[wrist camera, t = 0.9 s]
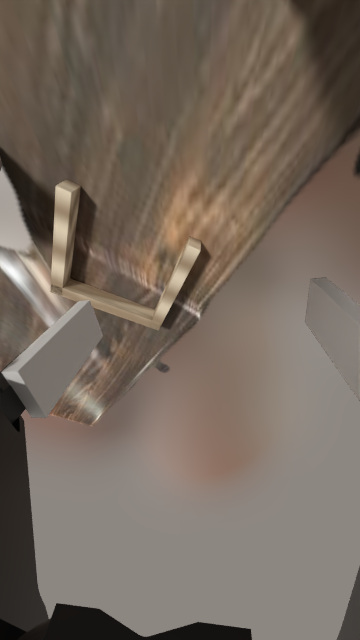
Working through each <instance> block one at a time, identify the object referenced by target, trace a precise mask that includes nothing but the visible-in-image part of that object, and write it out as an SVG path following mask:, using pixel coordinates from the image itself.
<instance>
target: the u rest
mask: <svg viewBox="0 0 360 640" xmlns="http://www.w3.org/2000/svg"><path fill="white" fill-rule="evenodd" d="M80 189H81V186H79V185H77V184H75V183H73V182H70V181H68V180H65V181H63V182H61V183H60V184H58V185H56V191H55V212H54V233H53V254H52V275H51V292H52V293H55V294H57V295H60V296H63V297H66V298H69V299H72V300H74V301H77V302H78V301H85V300H90V302H91V305H92V307H94V308H97V309H100V310H103V311H105V312H108V313H111V314H114V315H117V316H119V317H122V318H125V319H128V320H131V321H133V322H136V323H139V324H142V325H145V326H148V327H150V328H153V329H156V330H159V328H160V326H161V324H162V323H163V321H164V319H165V317H166V315H167V313H168V311H169V309H170V307H171V306H172V304H173V302H174V300H175V298H176V296H177V294H178V292H179V290H180V289H181V287H182V285H183V283H184V281H185V279H186V277H187V275H188V273H189V272H190V270H191V268H192V266H193V264H194V262H195V260H196V258H197V256H198V254H199V253H200V251H201V241H200V240H197V239H195V238H193V237H191V236H189V238H188V240H187V243H186V245H185V247H184V249H183V251H182V253H181V255H180V257H179V260H178V262H177V264H176V266H175V268H174V270H173V272H172V274H171V277H170V279H169V281H168V283H167V285H166V287H165V289H164V291H163V294H162V296H161V298H160V300H159V302H158V304H157V306H156V308H155V310H154V309H151V308H149V307H146V306H143V305H141V304H138V303H135V302H133V301H130V300H127V299H125V298H122V297H119V296H117V295H114V294H111V293H108V292H106V291H103V290H100V289H98V288H95V287H92V286H90V285H87V284H84V283H82V282H79V281H76V280H74V279H71V278H70V276H71V267H72V258H73V250H74V241H75V232H76V224H77V215H78V206H79V198H80Z"/></svg>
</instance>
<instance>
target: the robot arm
mask: <svg viewBox="0 0 360 640" xmlns="http://www.w3.org/2000/svg"><path fill="white" fill-rule="evenodd" d="M305 323H306V324H307V326H308V327H309V329H310V330H311V331H312V333H313V334H314V336H315V337H316V339H317V340H318V342H319V343H320V344H321V346H322V347H323V348H324V350H325V352H326V353H327V354H328V356H329V357H330V359H331V360H332V362H333V363H334V365H335V366H336V367H337V369H338V370H339V372H340V373H341V375H342V376H343V378H344V379H345V381H346V382H347V383H348V385H349V386H350V388H351V389H352V391H353V392H354V394H355V395H356V396H357V398H358V399H359V401H360V305H359V304H358V303H357V302H356V301H354V300H353V299H352V298H351V297H349V296H348V295H347V294H345V293H344V292H343V291H342V290H341V289H339V288H338V287H337V286H336V285H334V284H333V283H332V282H331V281H329V280H328V279H327V278H314V279H310V287H309V296H308V303H307V311H306V319H305ZM102 337H103V335H102V332H101V329H100V327H99V324H98V321H97V318H96V316H95V313H94V310H93V307H92V305H91V302H90V300H85V301H78V302H77V303H76V304H75V305H74V306H73V307H72V308H71V309H70V310H69V311H67V312H66V313H65V314H64V315H63V316H62V317H61V318H60V319H59V320H58V321H57V322H55V323H54V324H53V325H52V326H51V327H50V328H49V329H48V330H47V331H46V332H44V333H43V334H42V335H41V336H40V337H39V338H38V339H37V340H36V341H35V342H33V343H32V344H31V345H30V346H29V347H27V348H26V349H25V350H24V351H23V352H22V353H20V355H18V356H17V357H16V358H15V359H14V361H12V362H11V363H9V364H8V365H7V366H6V367H5V368H4V369H3V370H2V371H1V372H0V640H252V637H251V629H246V628H239V627H231V626H224V625H216V624H208V623H201V622H197V623H193V624H190V625H187V626H184V627H180V628H177V629H173V630H170V631H166V632H163V633H159V634H156V635H153V636H149V637H143V636H140V635H138V634H137V633H135V632H134V631H132V630H131V629H129V628H128V627H126V626H124V625H123V624H122V623H120V622H118V621H117V620H115V619H114V618H112V617H111V616H109V615H108V614H106V613H105V612H103V611H102V610H100V609H96V608H88V607H81V606H73V605H66V604H58V603H57V604H56V606H55V609H54V612H53V615H52V617H51V619H48V615H47V611H46V607H45V605H44V603H43V601H42V598H41V596H40V593H39V590H38V584H37V573H36V561H35V549H34V536H33V525H32V512H31V500H30V488H29V476H28V464H27V452H26V440H25V427H24V420H23V418H22V417H21V414H22V412H23V411H24V410H25V409H26V410H27V411H28V413H29V414H30V416H31V417H32V418H46V417H47V416H48V415H49V413H50V412H51V410H52V409H53V408H54V406H55V405H56V403H57V402H58V400H59V399H60V397H61V396H62V394H63V393H64V392H65V390H66V389H67V387H68V386H69V384H70V383H71V381H72V380H73V379H74V377H75V376H76V374H77V373H78V371H79V370H80V368H81V367H82V366H83V364H84V363H85V361H86V360H87V358H88V357H89V355H90V354H91V352H92V351H93V350H94V348H95V347H96V345H97V344H98V342H99V341H100V339H101V338H102ZM337 640H360V567H359V571H358V574H357V577H356V581H355V584H354V587H353V590H352V594H351V597H350V601H349V604H348V608H347V611H346V614H345V618H344V621H343V624H342V627H341V630H340V633H339V635H338V638H337Z"/></svg>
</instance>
